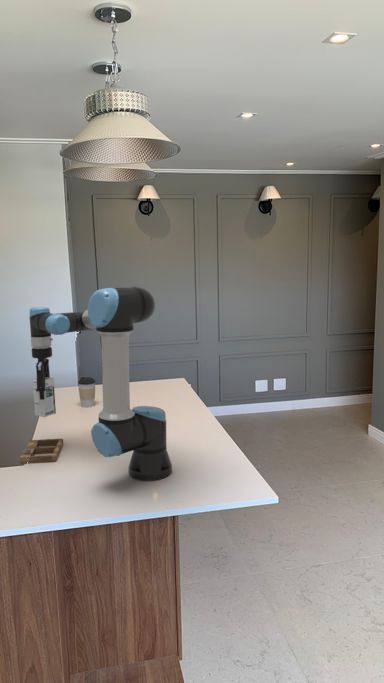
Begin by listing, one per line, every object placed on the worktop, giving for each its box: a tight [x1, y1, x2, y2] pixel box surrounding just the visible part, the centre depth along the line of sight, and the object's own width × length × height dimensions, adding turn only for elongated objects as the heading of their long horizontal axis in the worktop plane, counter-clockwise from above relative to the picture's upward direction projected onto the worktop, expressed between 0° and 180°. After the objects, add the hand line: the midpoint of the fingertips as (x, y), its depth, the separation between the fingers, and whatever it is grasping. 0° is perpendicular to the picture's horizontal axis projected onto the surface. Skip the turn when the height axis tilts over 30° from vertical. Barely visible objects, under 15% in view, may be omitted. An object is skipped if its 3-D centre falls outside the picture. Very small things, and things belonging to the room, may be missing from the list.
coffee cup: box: [77, 376, 96, 408], centre depth 258 cm, size 9×9×15 cm
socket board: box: [19, 438, 64, 465], centre depth 191 cm, size 19×13×3 cm
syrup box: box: [32, 377, 57, 418], centre depth 193 cm, size 6×6×14 cm
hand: (44, 404), depth 193 cm, fingers closed on syrup box, 8 cm apart
